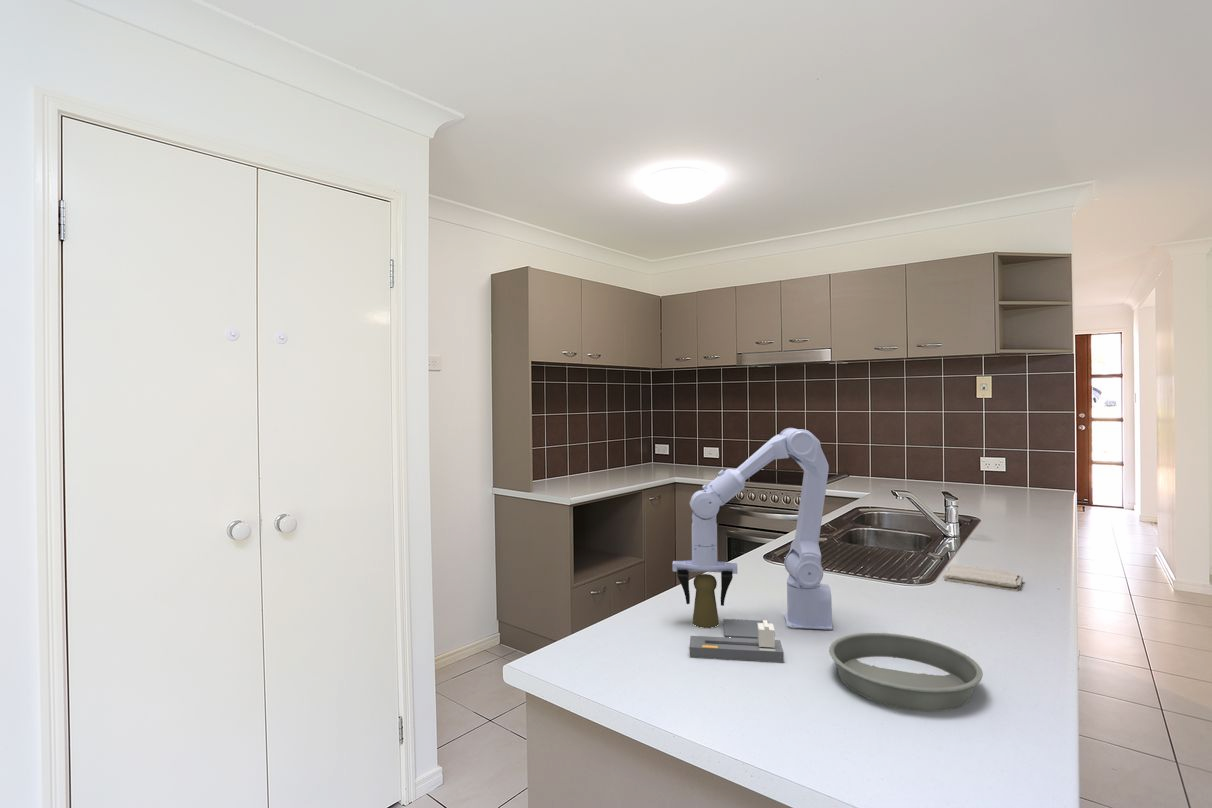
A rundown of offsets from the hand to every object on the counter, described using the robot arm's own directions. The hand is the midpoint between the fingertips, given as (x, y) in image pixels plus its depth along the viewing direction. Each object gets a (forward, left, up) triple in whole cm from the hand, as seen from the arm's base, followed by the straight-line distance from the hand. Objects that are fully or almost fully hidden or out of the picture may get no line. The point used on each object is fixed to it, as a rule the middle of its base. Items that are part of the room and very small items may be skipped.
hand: (705, 603), depth 139 cm
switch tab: (-12, +16, -2) cm, 20 cm away
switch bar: (-6, +16, -5) cm, 18 cm away
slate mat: (-9, +3, -5) cm, 11 cm away
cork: (0, 0, -5) cm, 5 cm away
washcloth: (-75, -42, -5) cm, 86 cm away
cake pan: (-35, +24, -5) cm, 43 cm away
